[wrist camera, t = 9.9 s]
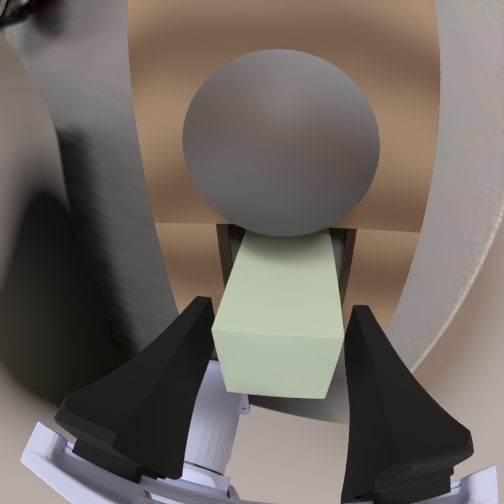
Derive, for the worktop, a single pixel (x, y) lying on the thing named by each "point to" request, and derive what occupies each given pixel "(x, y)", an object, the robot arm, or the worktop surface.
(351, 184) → the bobbin
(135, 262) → the worktop surface
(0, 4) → the pill bottle
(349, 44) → the notched board
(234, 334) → the peg
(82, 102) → the worktop surface
